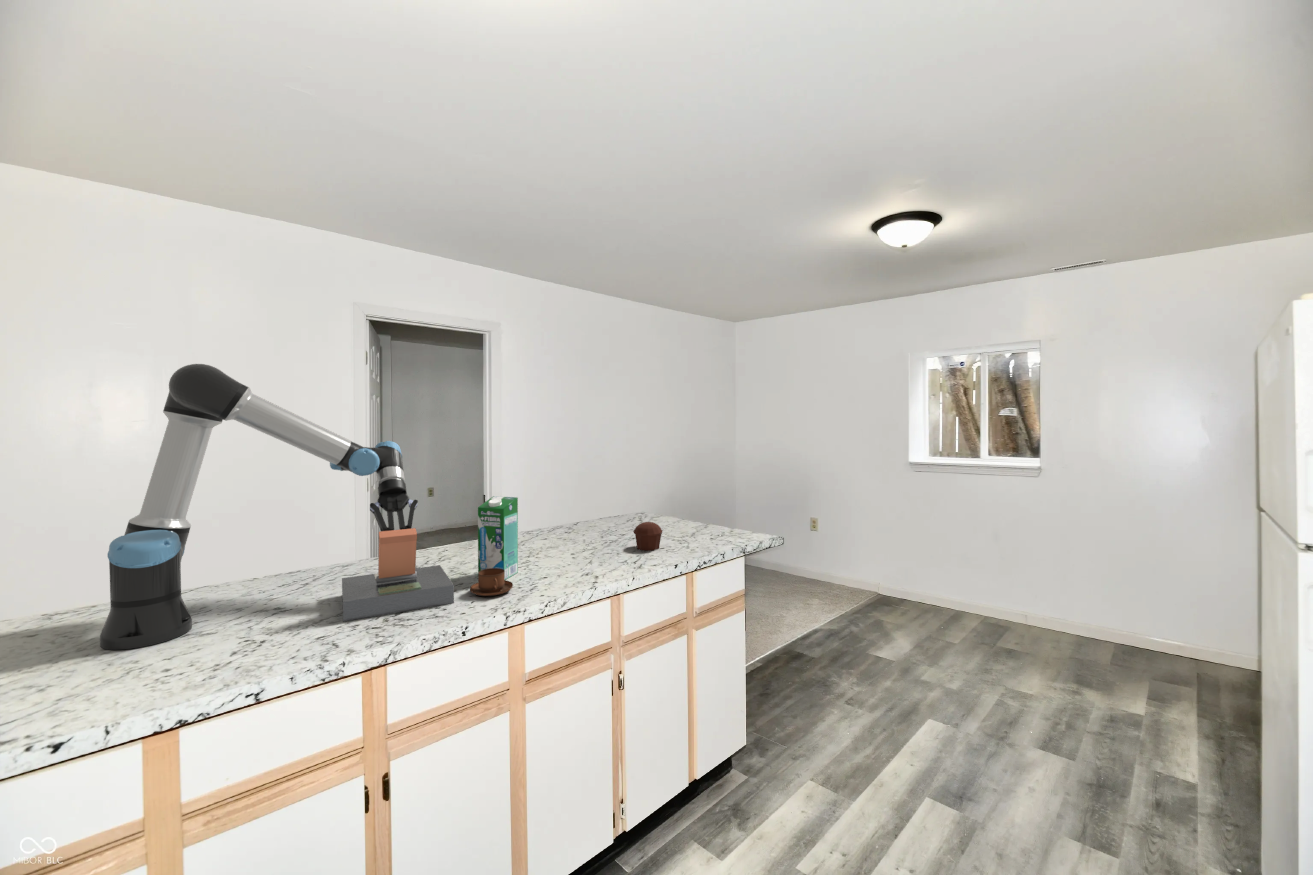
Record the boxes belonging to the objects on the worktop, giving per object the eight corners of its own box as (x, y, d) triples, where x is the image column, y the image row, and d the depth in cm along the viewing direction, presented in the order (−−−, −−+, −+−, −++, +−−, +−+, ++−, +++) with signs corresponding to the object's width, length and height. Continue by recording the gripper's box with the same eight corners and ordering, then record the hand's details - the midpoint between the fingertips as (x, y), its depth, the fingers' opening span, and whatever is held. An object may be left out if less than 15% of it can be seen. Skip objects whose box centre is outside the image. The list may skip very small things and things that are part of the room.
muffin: (650, 542, 213) (650, 518, 213) (668, 548, 205) (668, 523, 204) (627, 547, 205) (627, 522, 205) (644, 553, 197) (645, 527, 197)
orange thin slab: (376, 579, 144) (376, 531, 139) (415, 574, 149) (417, 527, 144) (376, 586, 142) (377, 538, 137) (417, 580, 147) (419, 533, 142)
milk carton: (477, 578, 164) (477, 499, 163) (493, 570, 173) (493, 495, 172) (503, 580, 162) (503, 501, 161) (518, 572, 171) (517, 496, 170)
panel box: (342, 595, 148) (341, 577, 148) (439, 580, 162) (439, 564, 161) (343, 621, 129) (343, 600, 129) (453, 602, 143) (453, 583, 143)
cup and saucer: (521, 591, 153) (521, 571, 153) (484, 602, 144) (484, 580, 144) (497, 583, 161) (497, 563, 160) (461, 593, 151) (461, 572, 151)
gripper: (414, 491, 164) (424, 555, 151) (366, 494, 157) (371, 562, 144) (416, 476, 159) (426, 541, 146) (367, 478, 152) (373, 548, 139)
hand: (399, 552), depth 145 cm, fingers closed
